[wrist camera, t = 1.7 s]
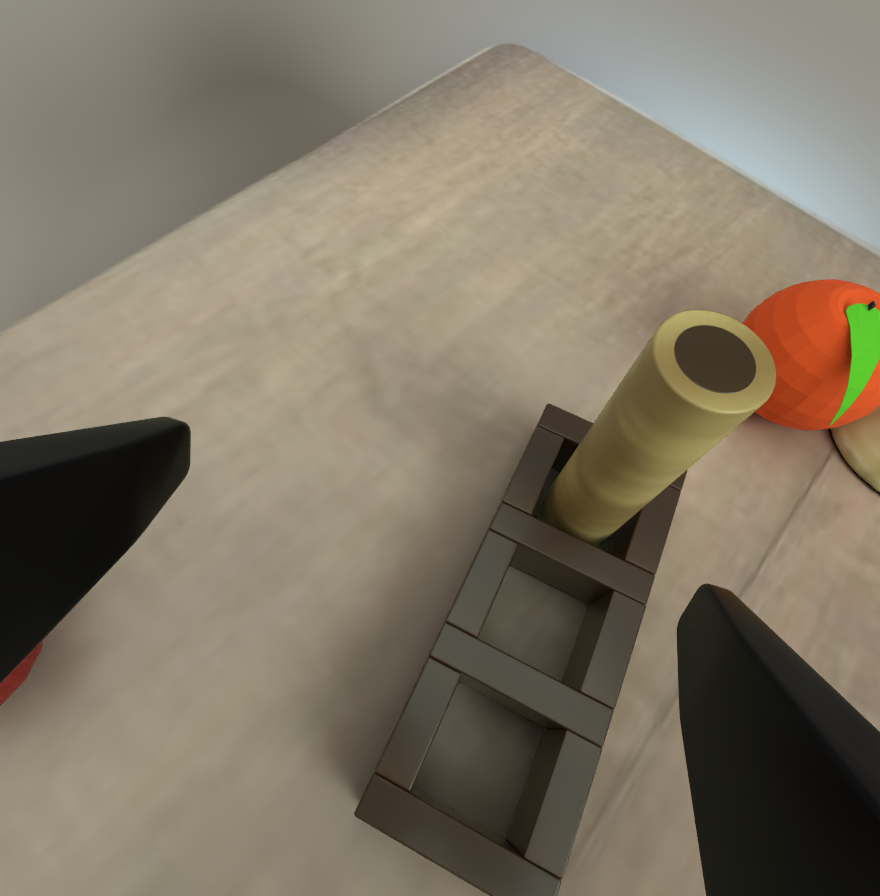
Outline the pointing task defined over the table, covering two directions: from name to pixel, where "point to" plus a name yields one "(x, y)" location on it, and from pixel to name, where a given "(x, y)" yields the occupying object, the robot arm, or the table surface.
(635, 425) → the tan hollow tube
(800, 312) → the clementine
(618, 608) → the rack
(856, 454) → the hand bell
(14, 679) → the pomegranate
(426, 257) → the table surface
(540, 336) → the table surface
